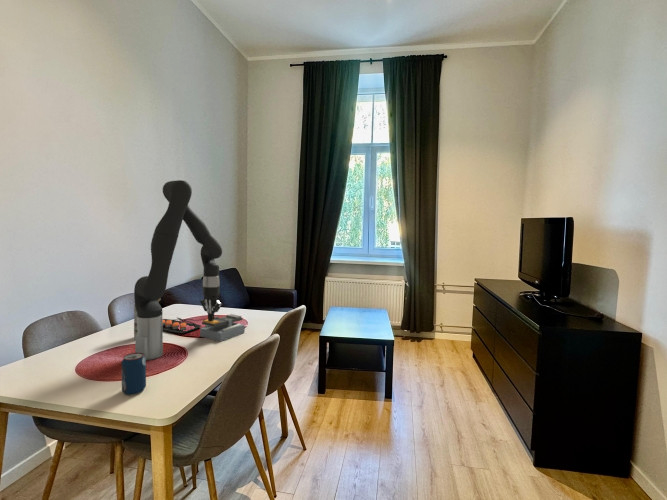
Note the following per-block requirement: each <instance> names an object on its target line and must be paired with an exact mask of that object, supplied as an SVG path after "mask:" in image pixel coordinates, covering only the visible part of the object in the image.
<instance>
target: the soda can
mask: <svg viewBox="0 0 667 500" xmlns="http://www.w3.org/2000/svg"><path fill="white" fill-rule="evenodd" d="M146 361H147V360H146V359H145V357H144V354H143V353H135V352H131V353H128V354H125V355H124V356H123V358H122V361H121V368H120V369H121V391H122V392H123V393H124V395H126V396H134V395H138V394H141V393H142V392H144V390H145V388H146V387H147V362H146Z"/></svg>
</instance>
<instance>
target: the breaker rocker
mask: <svg viewBox="0 0 667 500" xmlns="http://www.w3.org/2000/svg"><path fill="white" fill-rule="evenodd" d="M205 319H206V320H202V321H201V324H202V325H204V326H205V325H208V326H212V327H216V326H220V325H224V324H228V320H230V319H231V320H232V322H233V323H237V322H240V321H243V317H242V315H238V314H233V313H230V314H226V316H221V317H218V318H216V319H214V320H213V321H208V318H205Z"/></svg>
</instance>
